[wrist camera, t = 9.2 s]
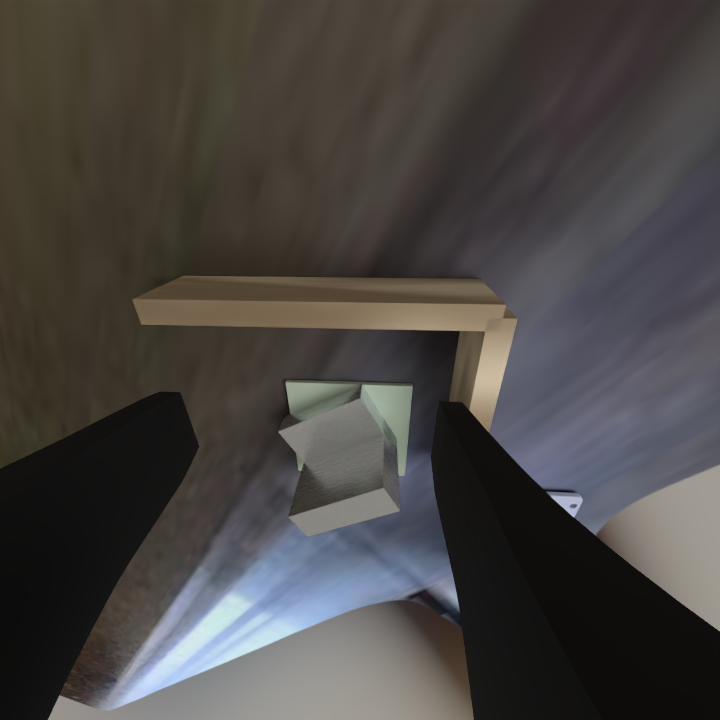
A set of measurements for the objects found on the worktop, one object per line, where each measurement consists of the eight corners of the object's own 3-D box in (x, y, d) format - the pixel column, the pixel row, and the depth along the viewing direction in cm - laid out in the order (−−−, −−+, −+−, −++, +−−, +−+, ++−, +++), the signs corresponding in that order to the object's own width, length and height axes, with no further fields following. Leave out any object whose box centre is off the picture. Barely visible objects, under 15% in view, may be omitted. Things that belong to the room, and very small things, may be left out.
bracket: (323, 464, 23) (307, 536, 19) (284, 416, 21) (255, 483, 17) (396, 438, 22) (400, 510, 17) (362, 384, 20) (354, 448, 15)
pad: (404, 472, 24) (404, 475, 23) (299, 467, 24) (298, 470, 24) (412, 383, 20) (412, 386, 19) (286, 379, 20) (285, 382, 20)
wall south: (457, 455, 22) (470, 505, 19) (440, 454, 22) (450, 504, 19) (489, 290, 17) (517, 318, 13) (466, 290, 17) (487, 318, 13)
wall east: (476, 301, 17) (499, 331, 13) (188, 297, 18) (141, 324, 14) (480, 278, 16) (506, 304, 13) (182, 275, 17) (132, 299, 14)
